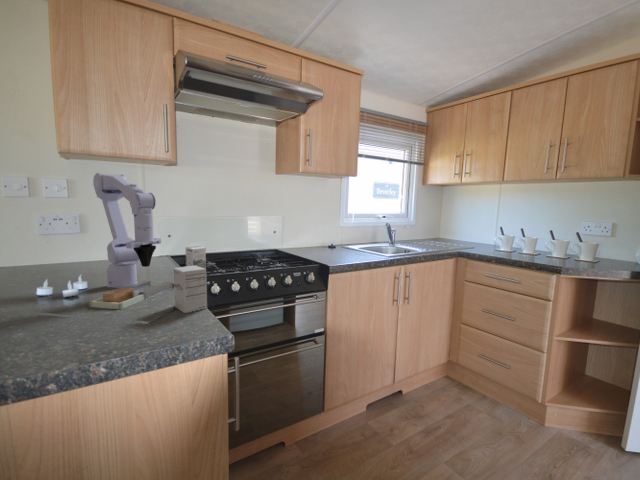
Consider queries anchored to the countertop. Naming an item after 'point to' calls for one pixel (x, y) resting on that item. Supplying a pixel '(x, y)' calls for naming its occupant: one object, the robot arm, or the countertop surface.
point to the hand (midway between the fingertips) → (145, 266)
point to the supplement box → (190, 288)
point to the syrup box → (196, 256)
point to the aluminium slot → (150, 289)
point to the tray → (114, 305)
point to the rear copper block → (127, 292)
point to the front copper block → (114, 296)
